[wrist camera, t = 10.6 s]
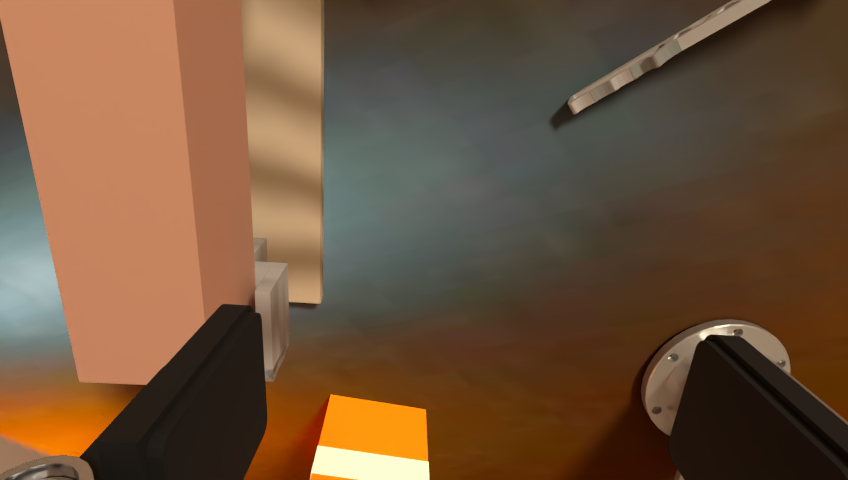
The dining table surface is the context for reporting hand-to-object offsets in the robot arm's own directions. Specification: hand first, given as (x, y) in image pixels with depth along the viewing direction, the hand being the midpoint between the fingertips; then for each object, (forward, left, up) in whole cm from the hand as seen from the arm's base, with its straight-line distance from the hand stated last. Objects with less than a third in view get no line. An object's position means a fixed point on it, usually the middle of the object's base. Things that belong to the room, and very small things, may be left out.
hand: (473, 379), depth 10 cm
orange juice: (-26, +3, -26) cm, 37 cm away
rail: (+4, +13, -17) cm, 22 cm away
